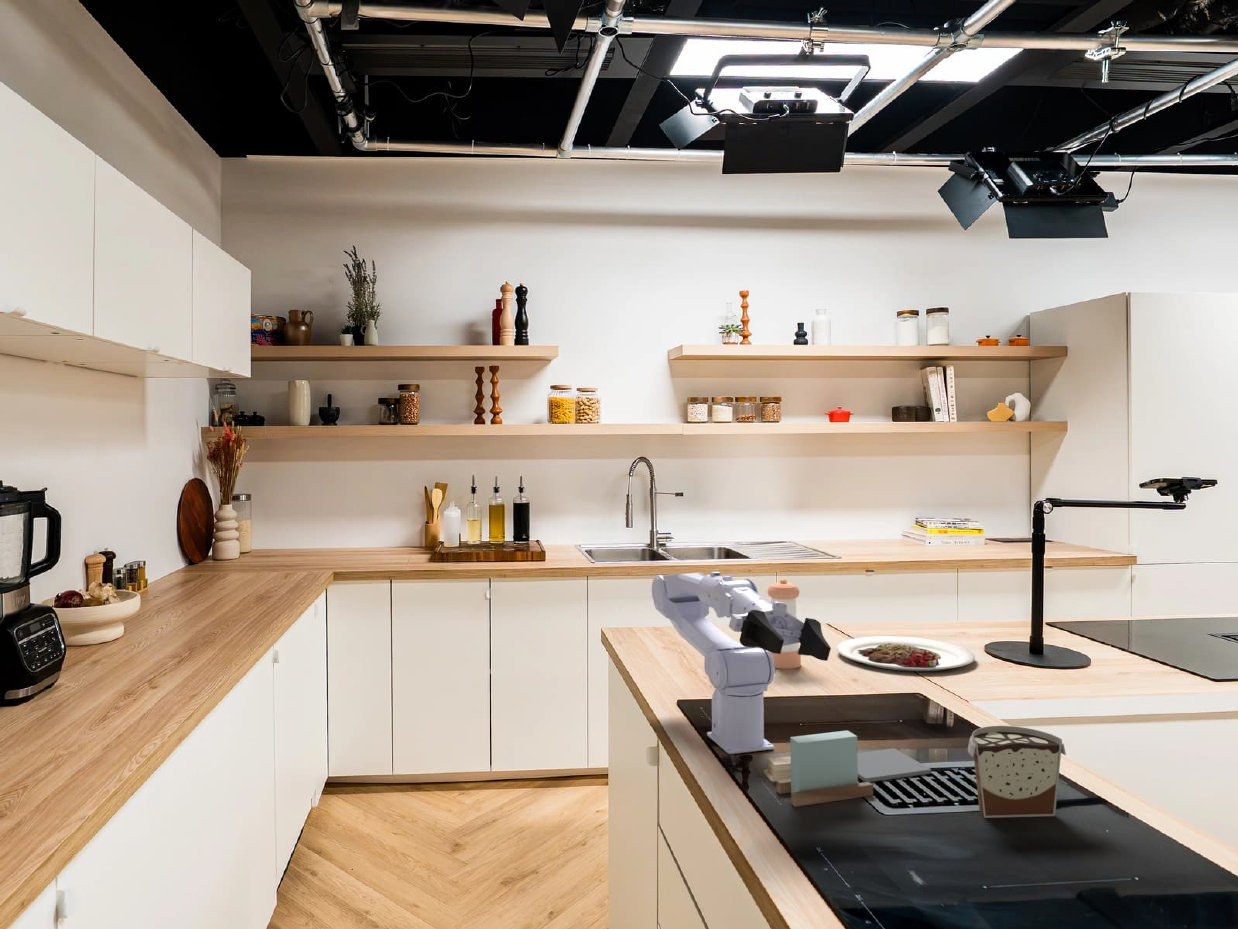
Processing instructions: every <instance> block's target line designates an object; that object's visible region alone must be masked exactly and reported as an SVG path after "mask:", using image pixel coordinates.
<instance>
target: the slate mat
mask: <svg viewBox="0 0 1238 929" xmlns="http://www.w3.org/2000/svg"><path fill="white" fill-rule="evenodd" d="M857 759H858V779H860V780H862V782H863V783H864V782H870V783H871V782H872V783H873V782H878V781H879V782H880V781H886V780H894V779H901V778H908V777H915V776H923V775H929V774H932V769H931V768H929V767H927V766H926V765H925V764H922V763H921V762H919V761H917V760H916V759H914V758H912V757H910V756H908V755H907V754H905V753H903V752H902V751H899V750H898V749H896V748H887V749H886V748H885V749H878V750H872V751H862V752H857Z"/></svg>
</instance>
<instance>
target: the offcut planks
mask: <svg viewBox="0 0 1238 929" xmlns="http://www.w3.org/2000/svg"><path fill="white" fill-rule="evenodd" d="M763 774H764V775H765V776H766V777H767V778H768V780H770V781H771V782H777V780H784V779H791V755H790V756H779V757H768V758H767V769H764V771H763Z"/></svg>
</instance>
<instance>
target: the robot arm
mask: <svg viewBox="0 0 1238 929" xmlns="http://www.w3.org/2000/svg"><path fill="white" fill-rule="evenodd" d="M651 595H652V596H651V597H652V600H653V604H654V607H655V609H656V610H657V611H658V613H660V614H661V615H662V616H663V617H664V618H666V619H668V620H669V622H670V623H671V624H672V626H673V628H674V629H675V630H676V632H677V634H678V635H679V636H680V637H681V638H682V639H683V640H684V641H686V642H687V643H688V644H689V645H690V646H691V647H692V648H694V649H695V650H696V651H697V652H698V653H699V654H701V655H702V656H703V658H704V662H703V663H704V666H703V668H704V672H705V675H706V676H708V677H707V678H708V679H709V682H710V684H711V686H713V688H714V691H713V693H712V696H711V731H708V732H706V736H707V737H708V738H709V739H711V740H712V741H713V742H715V743H716V744H717V745H718V746H719V747H720V749H722V750H723V751H724V752H726V753H727V754H728V755H735V754H741V753H742V754H743V753H751V752H759V751H766V750H768V751H769V750H774V749H775V746H774V744H772V743H771V742H770V741H768V740H767V739H765V731H764V730H765V725H764V724H765V723H764V722H765V721H764V718H765V717H764V716H765V713H764V710H765V709H764V708H765V707H764V706H765V705H764V692H768V686H769V685H771V683H772V682H773V680H774V678H775V673H776V668H775V664H774V660H773V657H772V655H771V653H770V652H772V653H776V654H780V653H781V650H782V646H786V645H790V644H795V643H799V651H798V654H799V655H802V656H805V657H806V656H809V657H810V656H811V657H813V658H815V659H817V660H820V661H823V662H824V661H828V659H829V657H830V654H831V649H832V648H831V647H830V644H829V643H828V641H827V640H826V638H825V636H824V634H823V632H822V623H821V622H820V621H818V620H817V619H815V618H809V617H805V620H804V622H803V621H801V620H800V619H799V618H797V617H796V618H795V617H794V616H792V615H791V614H789V613H788V612H787V611H786V608H787V605H786V604H785V603H783V602H778V601H775V602H774V603H773V604H772V603H771V601H770V600H768V599H767V598H765V597H764V596H762V595H760V594H759V592H758V588H757V585H756V584H755V582H754V581H753V580H751V579H749V578H744V579H742V580H741V579H739V580H735V579H733V577H732V576H730V575H724V576H722V572H721V571H710V572H709V574H707V575H705V574H704V572H690V573H689V572H688V573H687V572H686V573H674V574H673V573H672V574H664V575H663V574H657V575H655V577H654V578H653V579H652V583H651ZM710 608H711V609H713V610H714V612H715V614H716V618H719V619H722V618H730V621H729V624H728V628H730V629H731V630H732V631H733V632H737V633H740V632H741V633H740V637H739V642H738V641H736V640H734V639H733V638H731V637H730V636H729V635H728V634H726V633H725V632H724V631H723V630H721V629H720V628H719V627H717V626H716V625H715V624H714V623H712V622H711V621H709V619H707V618H706V617H708V615H709V614H710Z"/></svg>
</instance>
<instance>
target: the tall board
mask: <svg viewBox="0 0 1238 929" xmlns="http://www.w3.org/2000/svg"><path fill="white" fill-rule="evenodd" d="M789 739H790V740H789V741H790V744H789V745H790V756H791V792H790V794H791V793H792V792H799V791H806V790H814V789H821V788H828V787H835V786H843V785H850V784H857V783H859V782H858V781H859V780H858V779H859V778H858V759H857V753H858V736H857V735H856V734H854V733H853V732H851V731H850V730H840V731H838V730H837V731H831V732H823V733H814V734H805V735H797V736H790V738H789Z"/></svg>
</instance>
